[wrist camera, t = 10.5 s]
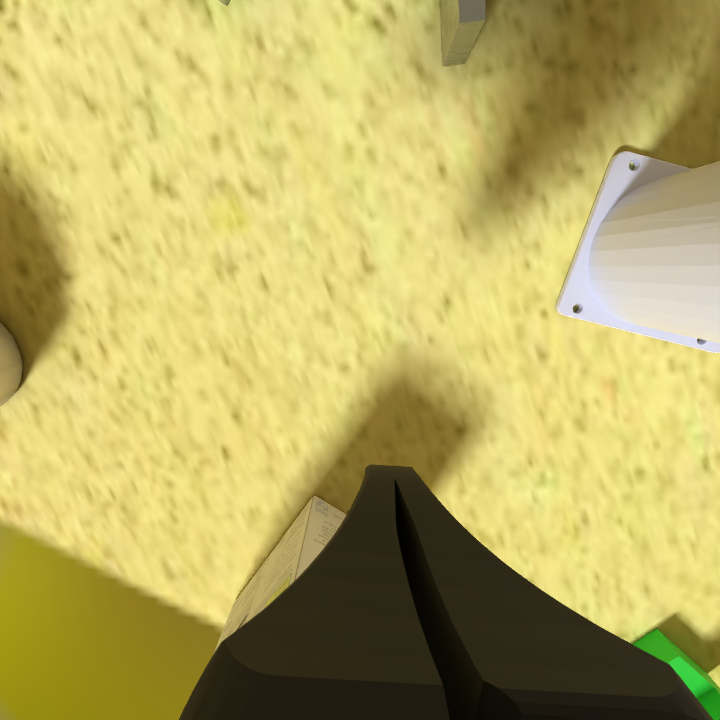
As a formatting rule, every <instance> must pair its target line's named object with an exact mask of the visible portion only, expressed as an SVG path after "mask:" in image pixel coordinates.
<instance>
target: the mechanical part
mask: <svg viewBox="0 0 720 720" xmlns="http://www.w3.org/2000/svg"><path fill="white" fill-rule="evenodd" d="M633 645H634V646H636V647H638V648H640V649H642V650H644V651H646V652H647V653H649V654H651V655H653V656H655V657H657V658H659V659H660V660H662V661H664V662H666V663H668V664H670V665H671V667H672V668H673V669H674V670H675V671H676V673H677V674H678V675H679V676H680V677H681V679H682V680H683V681H684V682H685V684H686V685H687V686H688V688H689V689H690V690H691V691H692V693H693V694H694V695H695V697H696V698H697V699H698V700H699V702H700V703H701V704H702V706H703V707H704V708H705V709H706V711H707V712H708V713H709V715H710V716H711V717H712V718H713V720H720V688H719V687H718V686H717V685H716V683H715V682H714V681H713V680H712V679H711V677H710V676H709V675H708V674H707V673H706V672H705V671H704V670H703V669H702V668H700V667H699V666H698V665H697V664H696V663H695V662H694V661H693V660H692V659H690V658H689V657H688V656H687V655H686V654H685V653H684V652H683V651H682V650H680V649H679V648H678V647H677V646H676V645H675V644H674V643H673V642H672V641H670V640H669V639H668V638H667V637H666V636H665V635H664V634H663V633H662V632H660V631H659V630H658V629H657V628H656V629H655V630H653V631H652V632H650V633H649V634H647V635H646V636H644V637H643V638H641V639H640V640H638V641H637V642H635V643H634V644H633Z"/></svg>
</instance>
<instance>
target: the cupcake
mask: <svg viewBox="0 0 720 720" xmlns="http://www.w3.org/2000/svg"><path fill="white" fill-rule="evenodd" d="M22 365H23V362H22V359H21V355H20V351H19V349H18V346H17V344H16V342H15V340H14V338H13V336H12V335H11V333H10V332H9V331H8V330H7V329H6V328H5V326H4V325H3V324H2V323H1V322H0V406H1V405H3V404H4V403H5V402H7V401H8V400H9V399H10V398H11V396H12V395H13V394H14V392H15V391H16V390H17V388H18V387H19V384H20V381H21V377H22Z"/></svg>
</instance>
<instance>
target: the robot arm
mask: <svg viewBox="0 0 720 720" xmlns="http://www.w3.org/2000/svg"><path fill="white" fill-rule="evenodd" d="M631 161H632V162H633V163H634V169H633V171H632V170H630V168H629V163H630V162H631ZM576 304H578V306H579V308H578V310H577V311H576V312H575V313H574V312H573V307H574V305H576ZM556 310H557V312H558V313H559V314H561V315H565V316H569V317H573V318H577V319H581V320H585V321H589V322H593V323H597V324H601V325H605V326H609V327H613V328H617V329H621V330H625V331H629V332H633V333H637V334H641V335H645V336H649V337H653V338H657V339H661V340H665V341H669V342H673V343H677V344H681V345H685V346H689V347H693V348H697V349H701V350H705V351H709V352H713V353H720V161H717V162H714V163H711V164H707V165H704V166H701V167H697V168H694V169H692V168H688V167H685V166H681V165H677V164H674V163H670V162H666V161H663V160H659V159H655V158H652V157H648V156H644V155H641V154H637V153H634V152H630V151H623V152H620V153H618V154H616V155H615V156H613V157H612V159H611V161H610V163H609V165H608V168H607V171H606V173H605V176H604V179H603V181H602V184H601V187H600V189H599V192H598V195H597V197H596V200H595V202H594V205H593V208H592V210H591V213H590V216H589V218H588V221H587V224H586V226H585V229H584V232H583V234H582V237H581V240H580V242H579V245H578V247H577V250H576V253H575V255H574V258H573V261H572V263H571V266H570V269H569V271H568V274H567V277H566V279H565V282H564V285H563V287H562V290H561V292H560V295H559V298H558V300H557V303H556ZM697 339H700V340H699V342H697ZM179 720H713V718H712V717H711V716H710V715H709V713H708V712H707V711H706V709H705V708H704V707H703V706H702V704H701V703H700V702H699V700H698V699H697V698H696V697H695V695H694V694H693V693H692V691H691V690H690V689H689V688H688V686H687V685H686V684H685V682H684V681H683V680H682V679H681V677H680V676H679V675H678V674H677V673H676V671H675V670H674V669H673V668H672V667H671V665H670V664H668V663H666V662H664V661H662V660H660V659H659V658H657V657H655V656H653V655H651V654H649V653H647V652H646V651H644V650H642V649H640V648H638V647H636V646H634V645H633V644H631V643H629V642H627V641H625V640H623V639H621V638H619V637H618V636H616V635H614V634H612V633H610V632H608V631H606V630H605V629H603V628H601V627H599V626H598V625H596V624H594V623H593V622H591V621H589V620H588V619H586V618H584V617H583V616H581V615H579V614H578V613H576V612H575V611H573V610H571V609H570V608H568V607H566V606H565V605H563V604H562V603H560V602H559V601H557V600H556V599H554V598H553V597H551V596H549V595H548V594H546V593H545V592H543V591H542V590H541V589H539V588H538V587H536V586H535V585H534V584H532V583H531V582H529V581H528V580H527V579H525V578H524V577H522V576H521V575H520V574H518V573H517V572H515V571H514V570H513V569H512V568H510V567H509V566H508V565H506V564H505V563H504V562H503V561H501V560H500V559H499V558H498V557H497V556H495V555H494V554H493V553H492V552H491V551H489V550H488V549H487V548H486V547H485V546H484V545H482V544H481V543H480V542H479V541H478V540H477V539H476V538H475V537H473V536H472V535H471V534H470V533H469V532H468V531H467V530H466V529H465V528H464V527H463V526H462V525H461V524H460V523H459V522H458V521H457V520H456V519H455V518H454V517H453V516H452V515H451V514H450V513H449V511H448V510H447V509H446V508H445V507H444V506H443V505H442V504H441V502H440V501H439V500H438V499H437V498H436V497H435V495H434V494H433V493H432V492H431V491H430V489H429V488H428V487H427V486H426V484H425V483H424V482H423V481H422V479H421V478H420V477H419V476H418V474H417V473H416V472H415V471H414V470H413V468H412V467H399V466H383V465H369V466H367V467H366V468H365V476H364V480H363V482H362V485H361V488H360V490H359V492H358V494H357V496H356V498H355V501H354V503H353V505H352V507H351V508H350V510H349V512H348V513H347V515H346V517H345V518H344V520H343V522H342V523H341V525H340V526H339V528H338V529H337V531H336V532H335V534H334V535H333V537H332V538H331V539H330V541H329V542H328V543H327V545H326V546H325V547H324V549H323V550H322V551H321V552H320V553H319V555H318V556H317V557H316V558H315V559H314V560H313V561H312V563H311V564H310V565H309V566H308V567H307V568H306V569H305V570H304V572H303V573H302V574H301V575H300V576H299V577H298V578H297V579H296V580H295V581H294V582H293V583H292V584H290V585H289V586H288V587H287V588H286V589H285V590H284V591H283V592H282V593H281V594H280V595H279V596H278V597H277V598H276V599H274V600H273V601H272V602H271V603H270V604H269V605H268V606H267V607H265V608H264V609H263V610H262V611H261V612H259V613H258V614H257V615H256V616H254V617H253V618H252V619H250V620H249V621H248V622H247V623H245V624H244V625H243V626H241V627H240V628H239V629H238V630H236V631H235V632H234V633H232V634H231V635H230V636H228V637H227V638H226V639H224V640H223V641H222V642H221V643H220V645H219V646H218V648H217V650H216V651H215V653H214V655H213V656H212V658H211V660H210V661H209V663H208V665H207V666H206V668H205V670H204V672H203V673H202V675H201V677H200V679H199V681H198V683H197V684H196V686H195V688H194V690H193V692H192V694H191V696H190V698H189V700H188V702H187V704H186V706H185V708H184V710H183V712H182V714H181V716H180V718H179Z"/></svg>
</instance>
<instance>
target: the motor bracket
mask: <svg viewBox="0 0 720 720" xmlns="http://www.w3.org/2000/svg"><path fill="white" fill-rule="evenodd" d="M220 1H221V2H222V3H224V4H225V5H226V6H227V5H228V3H229V0H220ZM440 19H441V40H442V62H443V66H448V65H455V64H462V63H465V61H466V59H467V57H468V55H469V53H470V51H471V49H472V47H473V45H474V43H475V41H476V39H477V37H478V35H479V33H480V31H481V29H482V27H483V24H484V22H485V20H486V8H485V0H440Z"/></svg>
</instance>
